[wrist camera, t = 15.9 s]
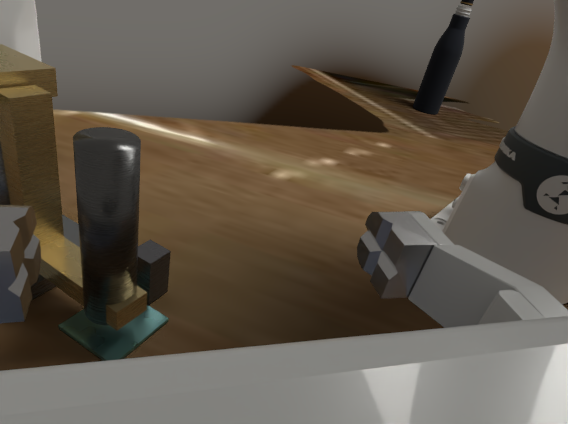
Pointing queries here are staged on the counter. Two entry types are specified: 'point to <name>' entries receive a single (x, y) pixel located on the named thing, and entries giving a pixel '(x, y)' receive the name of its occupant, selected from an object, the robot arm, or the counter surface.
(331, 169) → the counter surface
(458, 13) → the dark blue bottle
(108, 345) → the post
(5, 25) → the milk carton
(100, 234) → the lever
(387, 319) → the counter surface
